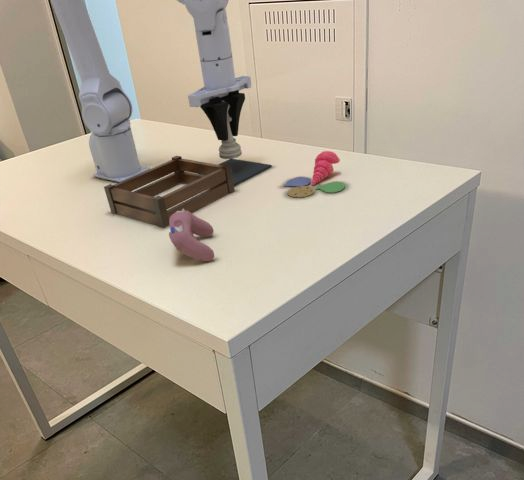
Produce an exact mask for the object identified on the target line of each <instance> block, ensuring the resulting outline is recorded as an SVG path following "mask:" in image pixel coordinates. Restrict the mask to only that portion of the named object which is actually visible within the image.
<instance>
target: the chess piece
mask: <svg viewBox="0 0 524 480" xmlns="http://www.w3.org/2000/svg"><path fill="white" fill-rule="evenodd" d="M222 102H225V101H222ZM229 107H230V105H229V104H228V109H227V128H228V140H226V141H222V140H220V143H221V145H220V146H219V147H218V156H219V158H220V159H222V160H229V159H237V158H239V157H241V156H242V154H243V151H242V147H241V145H240V143H238V142H237V138H235V137H234V136H233V135H232V132H231V129H230V124H229V122H230V121H232V118H231V117H230V116H229V114H228V110H229Z"/></svg>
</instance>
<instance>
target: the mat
mask: <svg viewBox="0 0 524 480" xmlns="http://www.w3.org/2000/svg"><path fill="white" fill-rule="evenodd" d="M224 164H229V165H231V169H232V175H233V182H234V187H236V186H238V185H239V184H242V183H243V182H245V181H248V180H249V179H251V178H253V177H255V176H257V175H259V174H261V173H263V172H265V171H267V170H269V169H271V168H272V167H273V165H272V164H268V163H262V162H255V161H250V160H243V159H237V158H233V159H226V160H225V161H223V162H220V163H219V164H218V163H217V165H224ZM200 175H202V174H200ZM205 176H206V175H205Z"/></svg>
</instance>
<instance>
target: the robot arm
mask: <svg viewBox="0 0 524 480" xmlns="http://www.w3.org/2000/svg"><path fill="white" fill-rule="evenodd" d="M176 1H177V2H178V3H179V4H181V5H184V6H185V9H186V11H187V12H188V14H189V15H190V16H191V17H192V18H193V24H194V29H195V30H194V31H195V38H196V44H197V50H198V56H199V62H200V63H199V64H200V68H201V75H202V81H203V87H201V88H199V89H198V90H195V91H194V92H192V93H190V94H188V95H187V100H188V104H189V107H190V108H199V107H200V109H201V110H202V111H203V113H204V114H205V116H206V117H207V119H208V120H209V122H210V124H211V126H212V129H213V131H214V133H215V135H216V138H217V140H218V141H226V140H228V128H227V109H228V104H229V105H230V107H229V110H228V114H229V116H230V117H231V118H232V121H230V122H229V124H230V129H231V132H232V135H233V137H238V136H239V128H240V127H239V125H240V117H241V113H242V109H243V106H244V103H245V101H246V94H245V93H244V92H240V91H242V90H245V89H250V88H252V80H251V78H252V77H251V76H250V75H241V76H238V77H236V73H235V67H234V59H233V51H232V43H231V36H230V35H231V34H230V27H229V22H228V16H227V6H228V3H229V0H176ZM50 3H51V6H52V8H53V11H54V13H55V16H56V19H57V21H58V23H59V26H60V29H61V31H62V33H63V37H64V39H65V42H66V44H67V47H68V49H69V52H70V55H71V58H72V60H73V62H74V65H75V66H76V70H77V73H78V75H79V77H80V80H81V86H80V89H79V94H78V99H79V102H80V104H81V118H82V121H83V123H84V125H85V127H86V128H87V129H88V130H89V131H90V132H91V134H90V135H89V138H88V147H89V151H90V154H91V157H92V161H93V164H94V167H95V171H96V173H94V174H93V176H94V177H95V178H99V179H103V180H108V181H112V182H116V183H119V182H122V181H124V180H126V179H128V178H131V177H133V176H135V175H138V174H140V173H142V172H145V171H147V170H149V169H151V167H148V166H143V165H141V163H140V159H139V155H138V151H137V148H136V143H135V139H134V136H133V135H134V134H133V131H132V128H131V120H130V119H131V117H132V115H133V103H132V101H131V99H130V98H129V96H128V95H127V94H126V93H125V92H124V91H125V90H124V89H123V88H122V85H121V82H120V81H119V80H118V79H117V77H114V76H113V75H112V74H111V73H110V70H109V68H108V65H107V62H106V59H105V56H104V54H103V50H102V48H101V46H100V43H99V40H98V36H97V34H96V32H95V28H94V26H93V23H92V20H91V17H90V14H89V11H88V9H87V5H86V3H85V1H84V0H50ZM222 101H225V102H222Z"/></svg>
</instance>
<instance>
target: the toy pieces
mask: <svg viewBox="0 0 524 480" xmlns="http://www.w3.org/2000/svg"><path fill="white" fill-rule="evenodd" d="M340 161H341V159H340V158H339V156H338V155H337V154H336V153H335V152H334V151H331V150H324V151H321V152H320V153H319V154H317V156H316V157H315V159H314V167H313V172H312V173H313V174H312V181H311V178H310V177H307V176H297V177H293V178H291V179H289V180H287V181H286V182H285V184H283V187H293V188H290V189H289V190H288V191H287V195H288V196H289V197H291V198H306V197H309V196H310V197H311V195H313V194H314V193H315V190H320V191H323V192H325V193H327V194H332V193H333V194H335V193H338V192H341V191H342V190H344V189H345V188H346V183H344V182H342V181H332V182H327V183H324V184H320V183H319V182H321V181H323V180H324V179H326V178H327V177H328V176H331V175H332V173H333V172H334V166H333V164H334V165H335V164H339V163H340ZM310 183H311V186H309V184H310ZM318 183H319V184H318ZM316 184H317V185H316ZM315 185H316V186H315ZM313 186H315V188H314V187H313Z"/></svg>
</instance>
